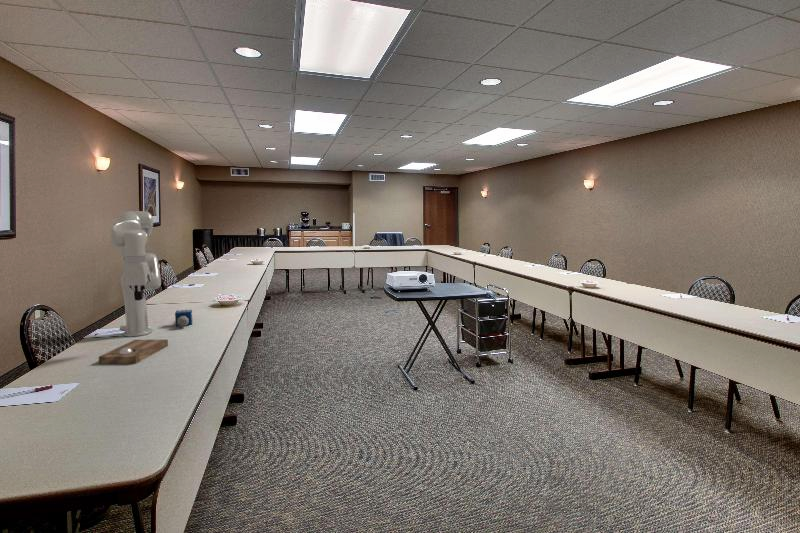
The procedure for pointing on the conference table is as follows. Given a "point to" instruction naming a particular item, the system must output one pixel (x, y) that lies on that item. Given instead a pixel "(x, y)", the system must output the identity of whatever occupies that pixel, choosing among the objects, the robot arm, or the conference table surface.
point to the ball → (126, 351)
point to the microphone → (183, 318)
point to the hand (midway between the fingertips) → (138, 299)
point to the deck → (140, 352)
